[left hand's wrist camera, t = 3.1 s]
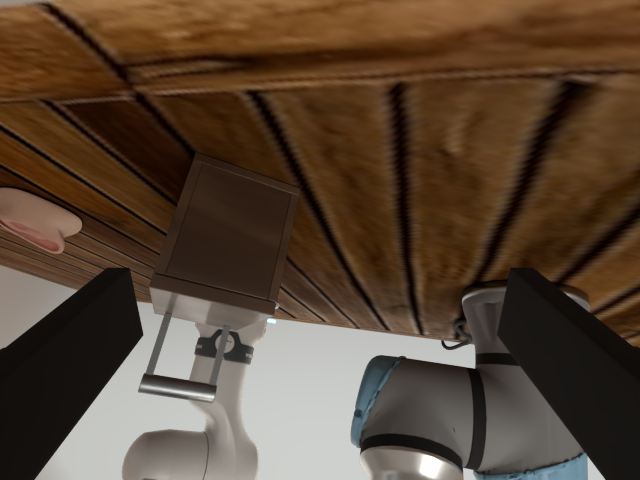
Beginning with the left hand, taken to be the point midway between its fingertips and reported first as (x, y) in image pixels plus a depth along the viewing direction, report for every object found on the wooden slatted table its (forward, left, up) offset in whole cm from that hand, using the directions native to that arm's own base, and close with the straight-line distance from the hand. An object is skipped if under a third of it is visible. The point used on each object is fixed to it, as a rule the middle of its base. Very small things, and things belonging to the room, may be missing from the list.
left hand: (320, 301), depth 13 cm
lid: (-18, +18, -3) cm, 25 cm away
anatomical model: (-18, +49, -13) cm, 54 cm away
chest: (-17, +17, -13) cm, 28 cm away
